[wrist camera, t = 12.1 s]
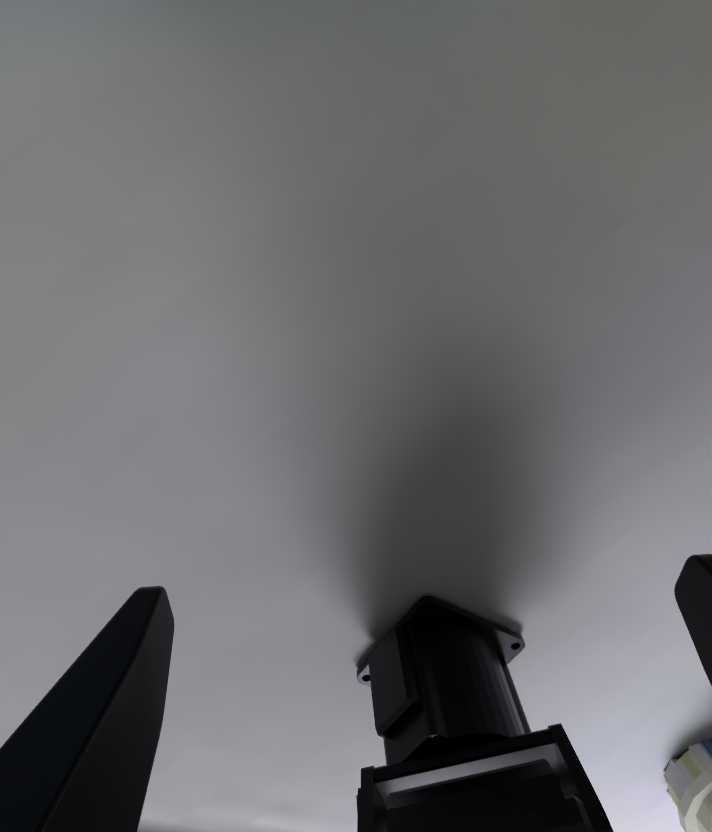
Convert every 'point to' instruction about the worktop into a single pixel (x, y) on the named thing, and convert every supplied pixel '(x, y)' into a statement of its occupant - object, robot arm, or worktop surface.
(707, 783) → the syringe
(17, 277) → the worktop surface
